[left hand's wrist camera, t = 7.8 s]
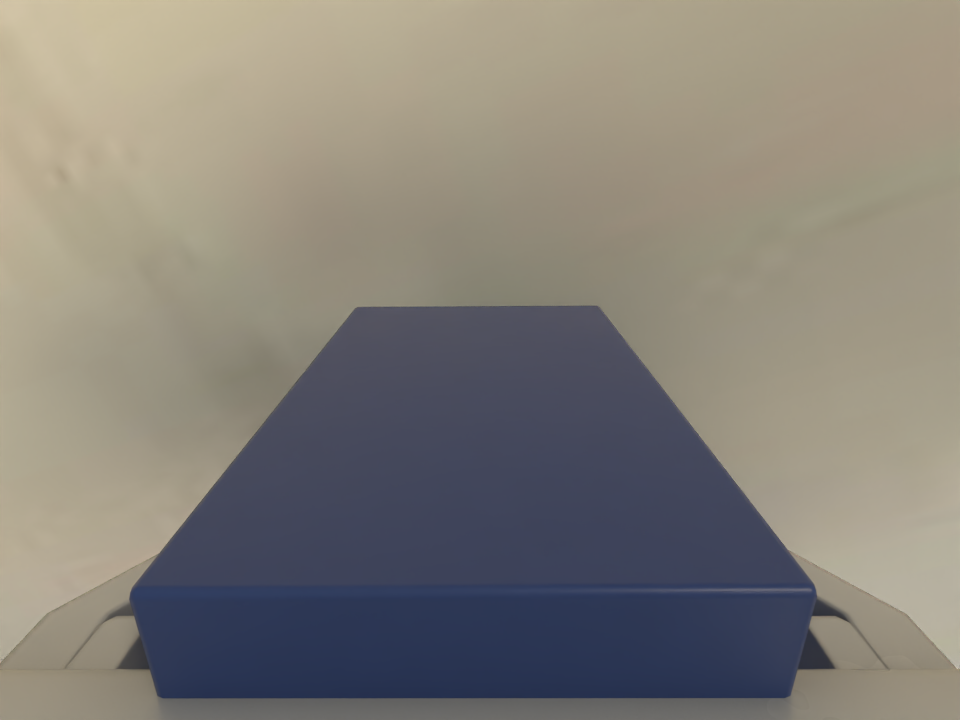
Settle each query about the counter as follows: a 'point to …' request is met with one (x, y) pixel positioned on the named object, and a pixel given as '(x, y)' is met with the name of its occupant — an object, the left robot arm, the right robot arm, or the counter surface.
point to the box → (474, 531)
